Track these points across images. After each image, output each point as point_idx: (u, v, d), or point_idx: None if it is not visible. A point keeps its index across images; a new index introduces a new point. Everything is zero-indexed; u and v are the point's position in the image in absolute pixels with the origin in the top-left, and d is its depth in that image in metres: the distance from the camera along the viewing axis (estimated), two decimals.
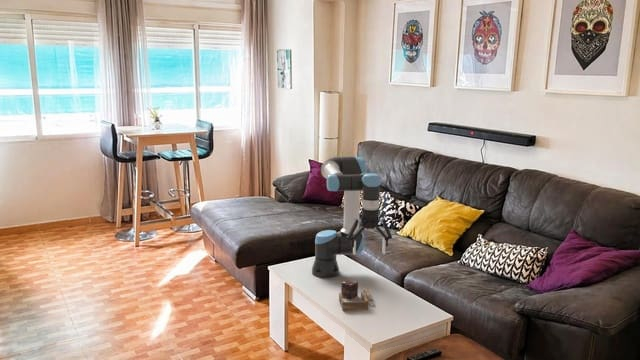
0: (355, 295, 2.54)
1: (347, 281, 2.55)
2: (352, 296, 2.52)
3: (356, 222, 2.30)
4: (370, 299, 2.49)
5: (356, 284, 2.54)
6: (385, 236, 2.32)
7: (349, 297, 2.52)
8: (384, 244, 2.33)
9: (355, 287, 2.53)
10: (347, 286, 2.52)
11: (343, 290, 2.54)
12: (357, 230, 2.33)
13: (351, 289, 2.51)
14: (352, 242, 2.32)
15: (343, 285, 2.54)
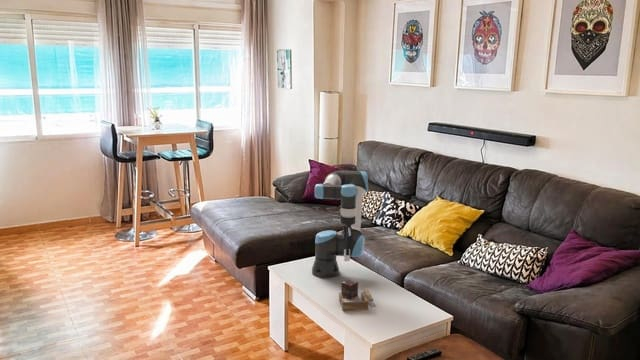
0: (355, 295, 2.54)
1: (347, 281, 2.55)
2: (352, 296, 2.52)
3: (343, 228, 2.65)
4: (370, 299, 2.49)
5: (356, 284, 2.54)
6: (345, 245, 2.59)
7: (349, 297, 2.52)
8: (344, 252, 2.61)
9: (355, 287, 2.53)
10: (347, 286, 2.52)
11: (343, 290, 2.54)
12: None
13: (351, 289, 2.51)
14: None
15: (343, 285, 2.54)
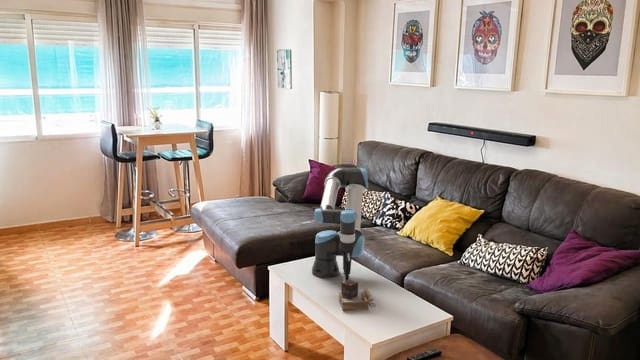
0: (355, 295, 2.54)
1: (347, 281, 2.55)
2: (352, 296, 2.52)
3: None
4: (370, 299, 2.49)
5: (356, 284, 2.54)
6: None
7: (349, 297, 2.52)
8: (344, 276, 2.64)
9: (355, 287, 2.53)
10: (347, 286, 2.52)
11: (343, 290, 2.54)
12: None
13: (351, 289, 2.51)
14: None
15: (343, 285, 2.54)
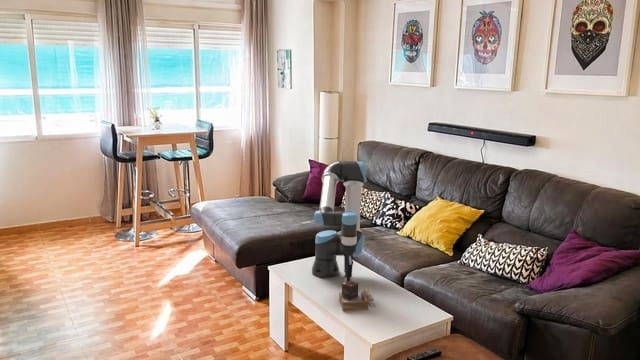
0: (355, 296, 2.53)
1: (347, 282, 2.54)
2: (352, 297, 2.51)
3: None
4: (370, 299, 2.49)
5: (356, 285, 2.52)
6: (346, 273, 2.58)
7: (349, 298, 2.51)
8: (345, 279, 2.59)
9: (355, 288, 2.52)
10: (347, 287, 2.51)
11: (343, 291, 2.53)
12: None
13: (351, 290, 2.50)
14: None
15: (343, 286, 2.52)
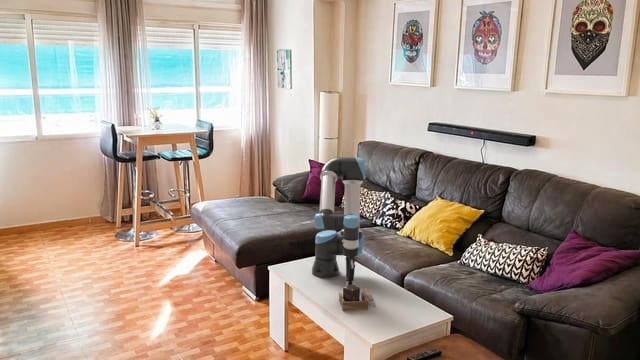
0: None
1: (349, 286, 2.49)
2: None
3: None
4: (370, 299, 2.49)
5: (358, 289, 2.47)
6: (348, 277, 2.52)
7: None
8: (347, 283, 2.54)
9: (357, 292, 2.47)
10: (348, 291, 2.46)
11: (344, 295, 2.48)
12: None
13: (352, 294, 2.45)
14: None
15: (344, 290, 2.47)
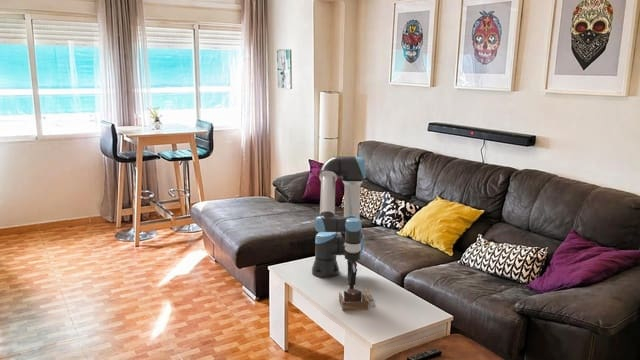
0: None
1: (350, 290, 2.45)
2: None
3: (347, 262, 2.53)
4: (370, 299, 2.49)
5: (359, 293, 2.43)
6: (349, 281, 2.48)
7: None
8: (348, 287, 2.50)
9: (358, 297, 2.42)
10: (349, 295, 2.41)
11: (345, 299, 2.44)
12: None
13: (353, 298, 2.41)
14: None
15: (345, 294, 2.43)
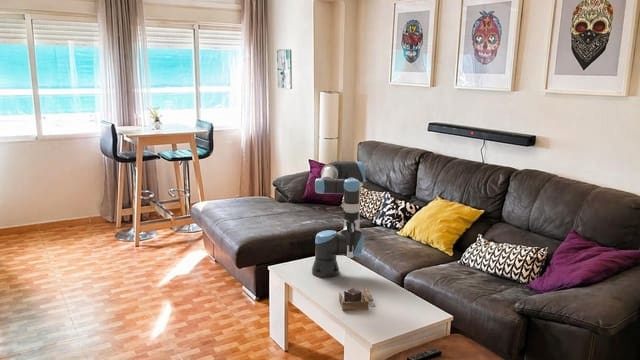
0: None
1: (350, 290, 2.45)
2: None
3: (346, 224, 2.56)
4: (370, 299, 2.49)
5: (359, 294, 2.43)
6: (348, 241, 2.51)
7: None
8: (347, 248, 2.53)
9: (358, 297, 2.42)
10: (349, 295, 2.41)
11: (346, 299, 2.44)
12: None
13: (353, 299, 2.41)
14: None
15: (346, 294, 2.43)
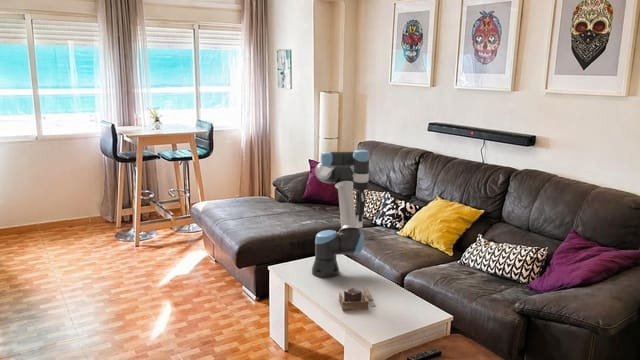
0: None
1: (350, 290, 2.45)
2: None
3: None
4: (370, 299, 2.49)
5: (359, 293, 2.43)
6: (358, 211, 2.57)
7: None
8: (357, 218, 2.59)
9: (358, 297, 2.42)
10: (349, 295, 2.41)
11: (346, 299, 2.44)
12: None
13: (353, 299, 2.41)
14: None
15: (346, 294, 2.43)
